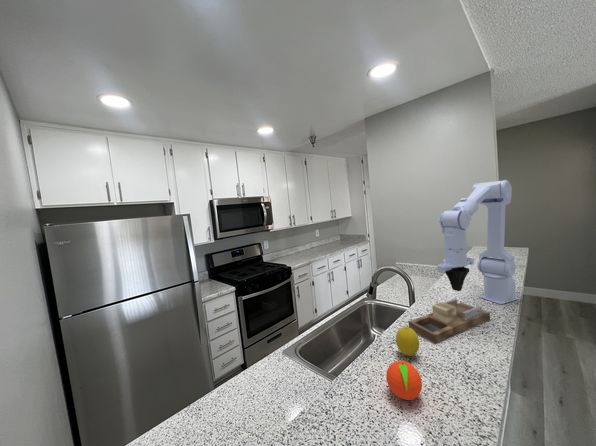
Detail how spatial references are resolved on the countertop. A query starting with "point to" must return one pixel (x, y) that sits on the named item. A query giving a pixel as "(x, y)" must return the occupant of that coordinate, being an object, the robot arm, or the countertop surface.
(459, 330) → the board
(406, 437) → the countertop surface
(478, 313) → the channel walls
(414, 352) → the lemon
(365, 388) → the countertop surface
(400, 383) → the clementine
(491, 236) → the robot arm
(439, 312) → the maple block
